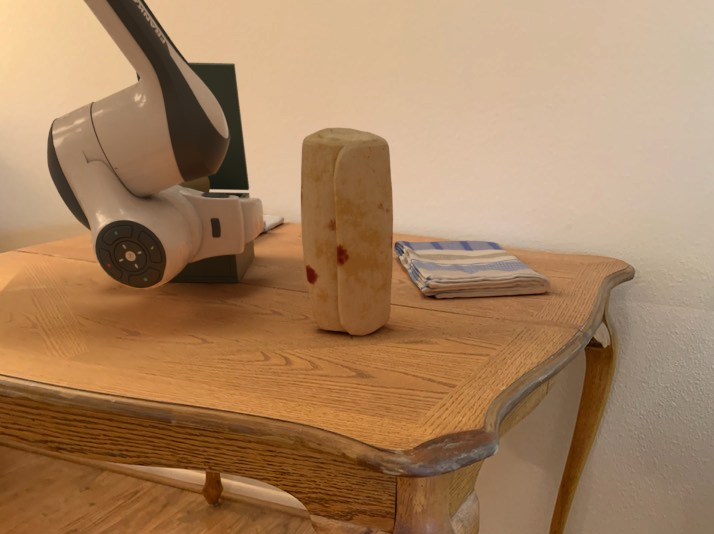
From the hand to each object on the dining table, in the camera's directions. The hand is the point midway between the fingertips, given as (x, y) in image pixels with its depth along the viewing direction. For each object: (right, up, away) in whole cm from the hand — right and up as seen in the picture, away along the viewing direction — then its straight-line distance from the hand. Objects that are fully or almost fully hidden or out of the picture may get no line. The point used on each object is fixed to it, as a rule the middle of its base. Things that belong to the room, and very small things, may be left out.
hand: (193, 204), depth 103 cm
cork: (0, -6, +3) cm, 7 cm away
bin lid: (0, +10, 0) cm, 10 cm away
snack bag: (-4, +7, +27) cm, 28 cm away
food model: (+22, -21, -16) cm, 35 cm away
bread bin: (0, -7, +5) cm, 8 cm away
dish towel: (+37, -8, +5) cm, 38 cm away
